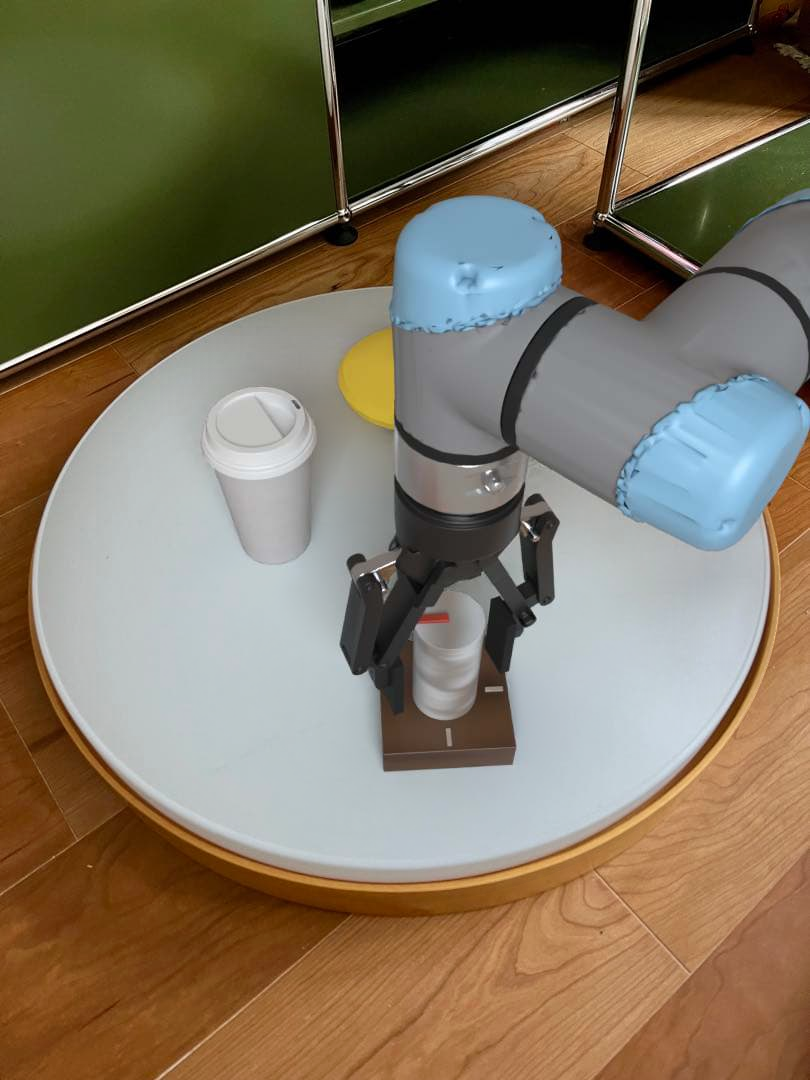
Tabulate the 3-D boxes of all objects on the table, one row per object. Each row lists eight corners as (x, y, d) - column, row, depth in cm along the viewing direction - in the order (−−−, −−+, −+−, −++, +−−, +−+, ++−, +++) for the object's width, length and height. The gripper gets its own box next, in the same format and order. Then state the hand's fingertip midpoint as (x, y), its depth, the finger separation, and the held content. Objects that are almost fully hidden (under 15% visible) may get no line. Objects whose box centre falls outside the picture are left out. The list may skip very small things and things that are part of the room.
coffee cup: (331, 572, 81) (319, 455, 70) (225, 583, 80) (195, 467, 69) (323, 494, 87) (311, 375, 76) (224, 504, 86) (196, 385, 75)
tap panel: (512, 765, 69) (516, 746, 67) (383, 772, 69) (383, 753, 66) (496, 654, 76) (499, 634, 73) (378, 660, 75) (377, 640, 73)
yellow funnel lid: (379, 466, 90) (377, 414, 84) (315, 375, 98) (310, 322, 93) (513, 417, 94) (520, 364, 89) (440, 333, 103) (442, 281, 98)
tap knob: (472, 662, 72) (481, 586, 64) (479, 718, 68) (489, 645, 60) (410, 666, 71) (411, 589, 63) (414, 722, 68) (416, 649, 60)
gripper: (307, 579, 46) (334, 771, 63) (653, 463, 51) (589, 670, 69) (263, 481, 50) (299, 686, 68) (585, 384, 56) (541, 597, 73)
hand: (445, 678), depth 68 cm, fingers open, 8 cm apart
